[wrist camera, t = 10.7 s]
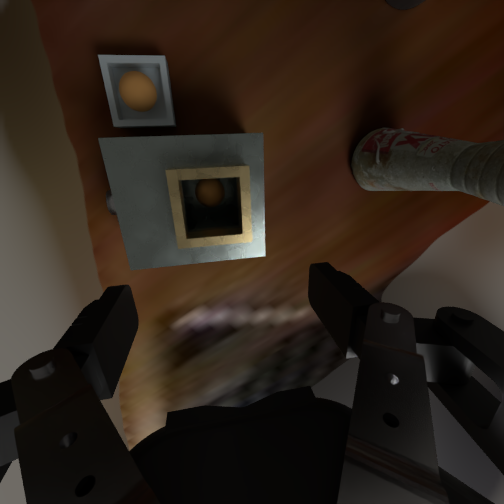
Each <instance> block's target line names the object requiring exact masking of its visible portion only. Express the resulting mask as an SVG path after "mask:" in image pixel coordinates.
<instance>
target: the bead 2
mask: <svg viewBox="0 0 504 504" xmlns="http://www.w3.org/2000/svg"><path fill="white" fill-rule="evenodd" d="M224 194H225V192H224V187H223V185H222V184H221V182H220V181H218V180H217V179H215V178H210V179H202V180H200V181H199V182H198V184H197V186H196V189H195V195H196V198H197V200H198V201H199V202H200V203H201V204H202V205H204V206H206V207H215V206H217V205H219V204H220V203H221V202H222V200H223V198H224Z"/></svg>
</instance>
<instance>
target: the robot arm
mask: <svg viewBox="0 0 504 504" xmlns="http://www.w3.org/2000/svg"><path fill="white" fill-rule="evenodd" d="M424 1H425V0H386V2H387V3H388V4H390V5H391V6H392V7H394V8H397V9H401V10H407V9H411V8H414V7H415V6H417V5H419V4H421V3H422V2H424ZM308 298H309V302H310V305H311V307H312V308H313V310H314V311H315V313H316V314H317V316H318V317H319V319H320V320H321V322H322V323H323V325H324V326H325V328H326V329H327V331H328V332H329V334H330V335H331V337H332V338H333V340H334V341H335V343H336V344H337V346H338V347H339V349H340V350H341V352H342V353H343V355H344V356H345V358H352V357H358V358H359V359H360V363H359V369H358V375H357V381H356V387H355V394H354V400H353V406H352V409H351V408H349V407H347V406H345V405H343V404H341V403H338V402H335V401H332V400H328V399H323V398H315V396H314V394H313V391H312V389H311V387H310V386H307V387H302V388H296V389H291V390H285V391H280V392H276V393H274V394H272V395H270V396H268V397H265V398H263V399H261V400H259V401H257V402H255V403H252V404H250V405H248V406H246V407H242V408H238V407H222V406H199V407H194V408H188V409H183V410H178V411H172V412H167V420H166V426H165V427H163V428H161V429H159V430H157V431H155V432H153V433H152V434H150V435H149V436H147V437H146V438H144V439H143V440H142V441H140V442H139V443H138V444H137V445H136V446H135V447H133V448H132V449H131V450H130V451H128V449H127V447H126V445H125V444H124V442H123V440H122V438H121V437H120V435H119V433H118V431H117V429H116V428H115V426H114V424H113V422H112V421H111V419H110V417H109V415H108V413H107V412H106V410H105V408H104V407H103V405H102V403H101V401H100V400H103V399H109V398H112V397H113V394H114V392H115V389H116V386H117V384H118V381H119V378H120V376H121V373H122V370H123V368H124V365H125V362H126V359H127V357H128V354H129V351H130V349H131V346H132V343H133V341H134V338H135V335H136V333H137V330H138V314H137V310H136V306H135V302H134V299H133V295H132V291H131V288H130V286H129V285H119V286H110V287H108V288H107V289H106V290H105V292H104V293H103V295H102V296H101V297H100V299H99V300H94V301H93V302H92V303H90V304H89V305H88V306H86V307H85V308H84V309H83V310H82V311H81V313H80V314H79V315H78V317H77V318H76V319H75V320H74V322H73V323H72V326H70V327H69V329H68V330H67V331H66V333H65V334H64V335H63V336H62V338H61V339H60V340H59V342H58V343H57V344H56V346H55V347H54V348H53V349H51V350H48V351H45V352H42V353H40V354H38V355H36V356H34V357H32V358H30V359H29V360H27V361H26V362H24V363H23V364H22V365H21V366H19V367H18V368H17V369H16V371H15V372H14V374H13V375H12V377H11V379H10V380H7V381H4V382H1V383H0V482H1V480H2V479H3V477H4V475H5V473H6V472H7V470H8V468H9V466H10V464H11V463H12V461H13V460H16V459H18V458H19V463H20V468H21V475H22V480H23V486H24V491H25V496H26V502H27V504H494V503H493V502H491V501H490V500H488V499H487V498H485V497H484V496H482V495H481V494H479V493H478V492H476V491H475V490H473V489H472V488H470V487H468V486H467V485H466V484H464V483H463V482H461V481H460V480H458V479H457V478H455V477H454V476H452V475H451V474H449V473H448V472H446V471H444V470H443V469H442V468H440V467H439V466H438V461H437V454H436V447H435V438H434V430H433V423H432V416H431V407H430V400H429V392H428V387H429V389H430V390H431V391H432V392H433V393H434V394H435V396H436V397H437V398H438V399H439V400H440V401H441V403H442V404H443V405H444V406H445V407H446V408H447V410H448V411H449V412H450V413H451V414H452V415H453V417H454V418H455V419H456V420H457V421H458V422H459V424H460V425H461V426H462V427H463V428H464V429H465V430H466V432H467V433H468V434H469V435H470V436H471V438H472V439H473V440H474V441H475V442H476V443H477V445H478V446H479V447H480V448H481V449H482V450H483V452H484V453H485V454H486V455H487V456H488V457H489V458H490V460H491V461H492V462H493V463H494V464H495V465H496V467H497V468H498V469H499V470H500V471H501V473H502V474H503V475H504V331H502V330H501V329H499V328H498V327H496V326H495V325H493V324H492V323H490V322H489V321H487V320H485V319H484V318H482V317H481V316H479V315H477V314H475V313H473V312H471V311H468V310H465V309H461V308H457V307H442V308H440V309H438V310H437V313H436V316H435V319H426V318H425V319H424V318H413V316H412V315H411V313H409V312H408V311H407V310H406V309H404V308H402V307H400V306H398V305H395V304H391V303H384V302H379V301H378V300H377V299H376V298H374V297H373V296H372V295H371V294H370V293H369V292H368V291H367V290H365V289H364V288H362V286H361V285H360V284H359V283H357V282H356V281H355V280H354V279H353V278H352V277H351V276H350V275H347V274H345V273H343V272H341V271H337V270H336V269H335V268H334V267H332V266H331V265H330V264H329V263H328V262H323V263H315V264H311V265H310V268H309V286H308ZM475 365H476V366H477V367H478V368H479V369H480V370H482V371H483V372H484V373H485V374H486V375H487V376H488V377H490V378H491V379H492V380H493V381H494V382H495V383H496V384H497V386H498V387H499V389H500V391H501V393H502V401H501V402H500V401H499V400H498V399H496V398H495V397H494V396H493V395H492V394H491V393H490V392H489V391H487V389H486V388H484V387H483V386H482V385H481V384H480V383H479V382H478V381H477V380H475V378H474V377H472V376H471V375H472V372H473V370H474V367H475Z"/></svg>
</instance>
